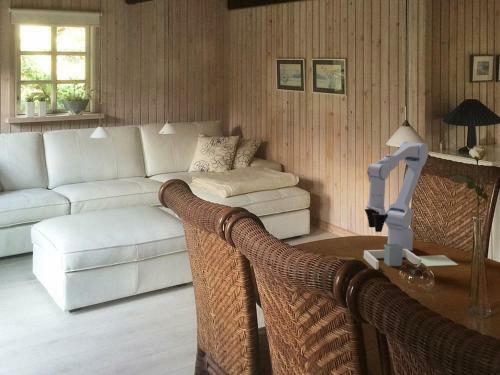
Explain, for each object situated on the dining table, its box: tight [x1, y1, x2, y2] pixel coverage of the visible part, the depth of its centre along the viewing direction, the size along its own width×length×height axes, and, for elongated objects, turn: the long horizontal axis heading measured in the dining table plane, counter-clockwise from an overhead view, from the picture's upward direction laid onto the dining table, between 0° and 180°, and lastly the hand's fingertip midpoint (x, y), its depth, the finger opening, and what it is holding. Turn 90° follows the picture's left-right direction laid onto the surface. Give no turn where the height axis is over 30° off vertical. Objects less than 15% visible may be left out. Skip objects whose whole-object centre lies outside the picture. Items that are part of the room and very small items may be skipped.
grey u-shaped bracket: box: [363, 249, 422, 270], centre depth 226 cm, size 17×14×3 cm
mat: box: [416, 254, 459, 268], centre depth 228 cm, size 12×12×1 cm
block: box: [383, 243, 403, 267], centre depth 224 cm, size 5×5×7 cm
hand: (375, 229), depth 233 cm, fingers open, 7 cm apart
